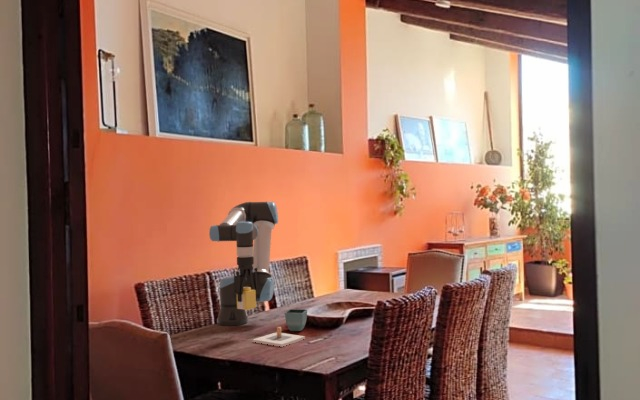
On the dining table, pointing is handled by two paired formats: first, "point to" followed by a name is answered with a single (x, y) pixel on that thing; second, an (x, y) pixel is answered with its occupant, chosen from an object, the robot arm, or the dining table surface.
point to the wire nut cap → (248, 298)
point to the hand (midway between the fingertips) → (246, 307)
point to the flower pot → (296, 319)
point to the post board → (279, 338)
